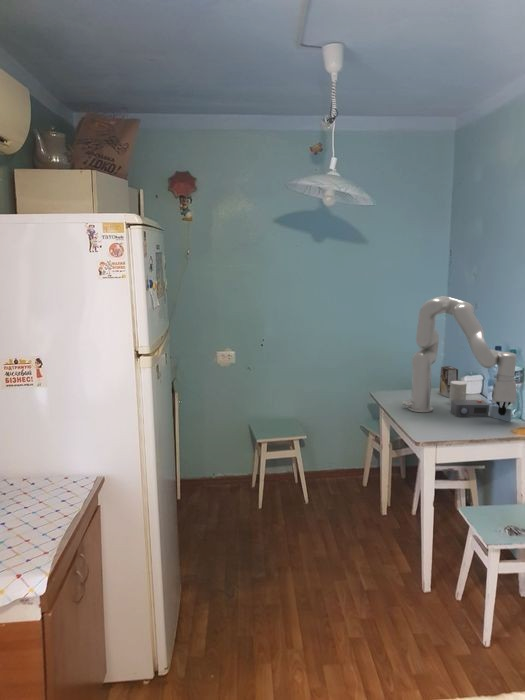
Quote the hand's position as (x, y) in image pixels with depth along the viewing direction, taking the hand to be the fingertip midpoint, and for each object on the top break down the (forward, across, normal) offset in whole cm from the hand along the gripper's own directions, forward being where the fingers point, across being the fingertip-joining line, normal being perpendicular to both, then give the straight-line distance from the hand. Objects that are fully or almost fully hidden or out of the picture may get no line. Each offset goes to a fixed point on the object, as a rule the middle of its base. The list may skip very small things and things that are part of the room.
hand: (501, 414), depth 255 cm
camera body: (+4, -11, +12) cm, 17 cm away
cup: (+4, -12, +29) cm, 32 cm away
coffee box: (+4, -12, +47) cm, 49 cm away
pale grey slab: (+3, +1, +4) cm, 5 cm away
